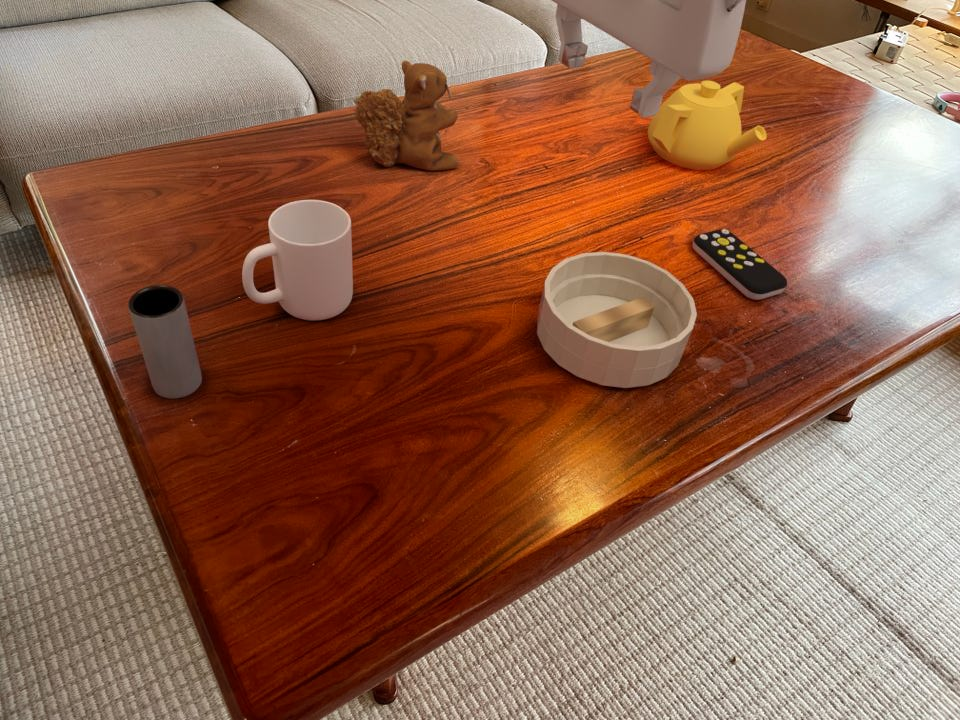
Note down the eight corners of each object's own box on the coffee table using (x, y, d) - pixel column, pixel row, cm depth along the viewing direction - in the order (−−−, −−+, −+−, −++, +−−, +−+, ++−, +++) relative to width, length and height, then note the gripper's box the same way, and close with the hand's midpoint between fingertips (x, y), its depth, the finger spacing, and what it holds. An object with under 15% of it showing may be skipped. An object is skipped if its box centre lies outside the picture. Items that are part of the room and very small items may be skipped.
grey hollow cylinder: (160, 405, 69) (135, 323, 62) (147, 374, 71) (121, 292, 64) (208, 389, 71) (190, 308, 64) (194, 360, 73) (174, 278, 66)
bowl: (709, 361, 81) (728, 320, 77) (596, 411, 74) (610, 369, 70) (616, 279, 90) (628, 238, 86) (508, 316, 83) (515, 274, 79)
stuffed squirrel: (464, 169, 106) (472, 79, 96) (368, 180, 101) (368, 87, 92) (440, 136, 112) (445, 49, 103) (349, 145, 107) (347, 55, 98)
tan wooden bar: (636, 316, 84) (643, 296, 82) (648, 327, 83) (654, 306, 81) (567, 342, 80) (572, 321, 78) (578, 353, 79) (584, 333, 77)
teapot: (709, 202, 106) (735, 131, 98) (614, 147, 115) (631, 78, 107) (783, 165, 116) (811, 98, 109) (690, 118, 125) (711, 53, 118)
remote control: (751, 304, 89) (757, 291, 88) (686, 245, 97) (690, 233, 96) (788, 293, 92) (794, 280, 90) (721, 237, 99) (726, 224, 98)
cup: (367, 306, 82) (366, 230, 75) (266, 344, 76) (255, 266, 69) (330, 267, 86) (326, 191, 79) (232, 300, 80) (219, 222, 73)
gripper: (796, -65, 46) (723, 138, 56) (593, -143, 58) (562, 37, 67) (726, -59, 43) (662, 154, 53) (528, -142, 55) (505, 45, 64)
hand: (605, 88), depth 60 cm, fingers open, 8 cm apart
